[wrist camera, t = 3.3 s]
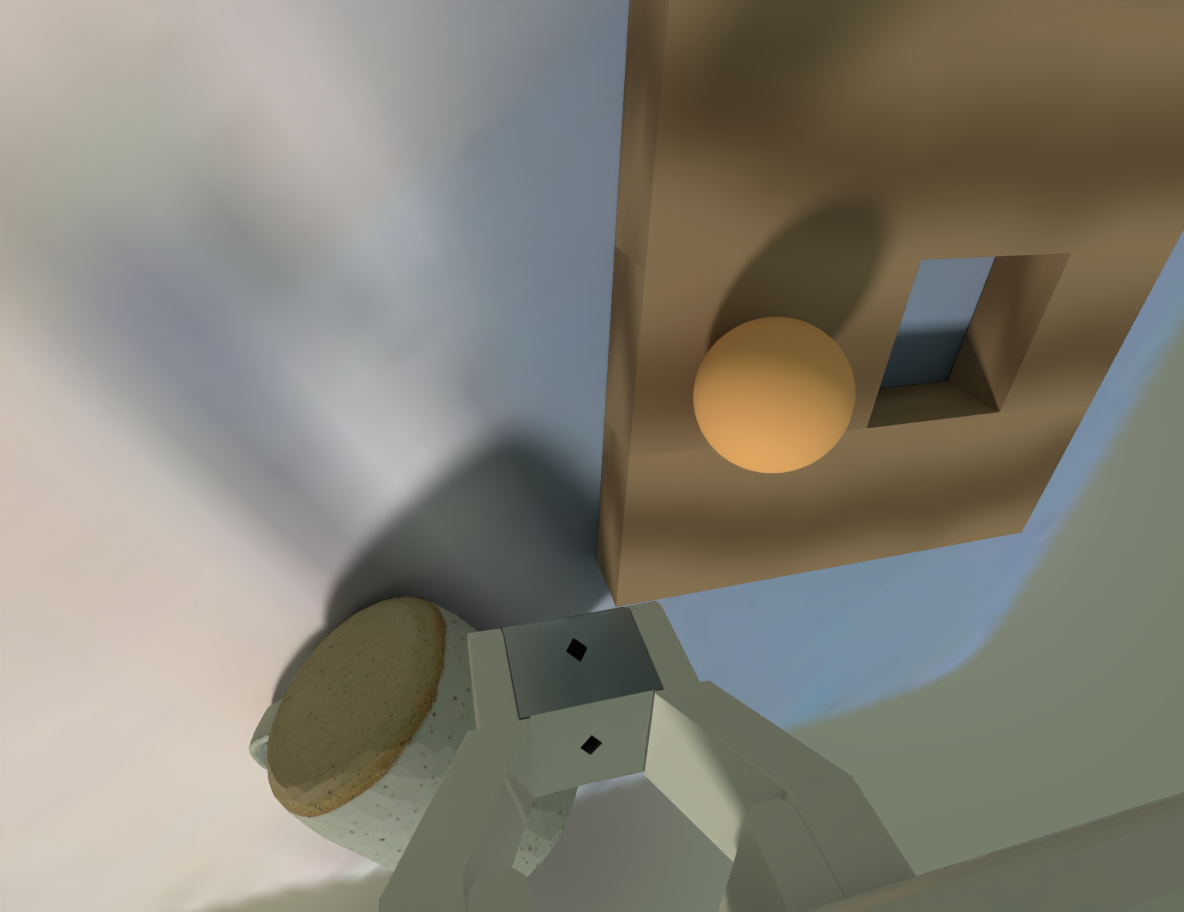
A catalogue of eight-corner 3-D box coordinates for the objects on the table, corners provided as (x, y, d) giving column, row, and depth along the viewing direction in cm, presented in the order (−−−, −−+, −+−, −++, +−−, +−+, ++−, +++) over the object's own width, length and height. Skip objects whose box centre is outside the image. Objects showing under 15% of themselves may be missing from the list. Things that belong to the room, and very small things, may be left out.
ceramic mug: (429, 541, 21) (444, 748, 15) (559, 649, 26) (610, 839, 20) (196, 701, 22) (122, 952, 16) (361, 775, 27) (352, 991, 21)
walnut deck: (631, -38, 14) (673, -51, 12) (1202, 12, 19) (1301, 9, 17) (596, 559, 24) (615, 607, 22) (976, 497, 28) (1021, 532, 26)
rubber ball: (679, 299, 16) (753, 362, 13) (813, 291, 17) (913, 348, 14) (663, 432, 18) (723, 514, 15) (783, 418, 19) (864, 493, 16)
